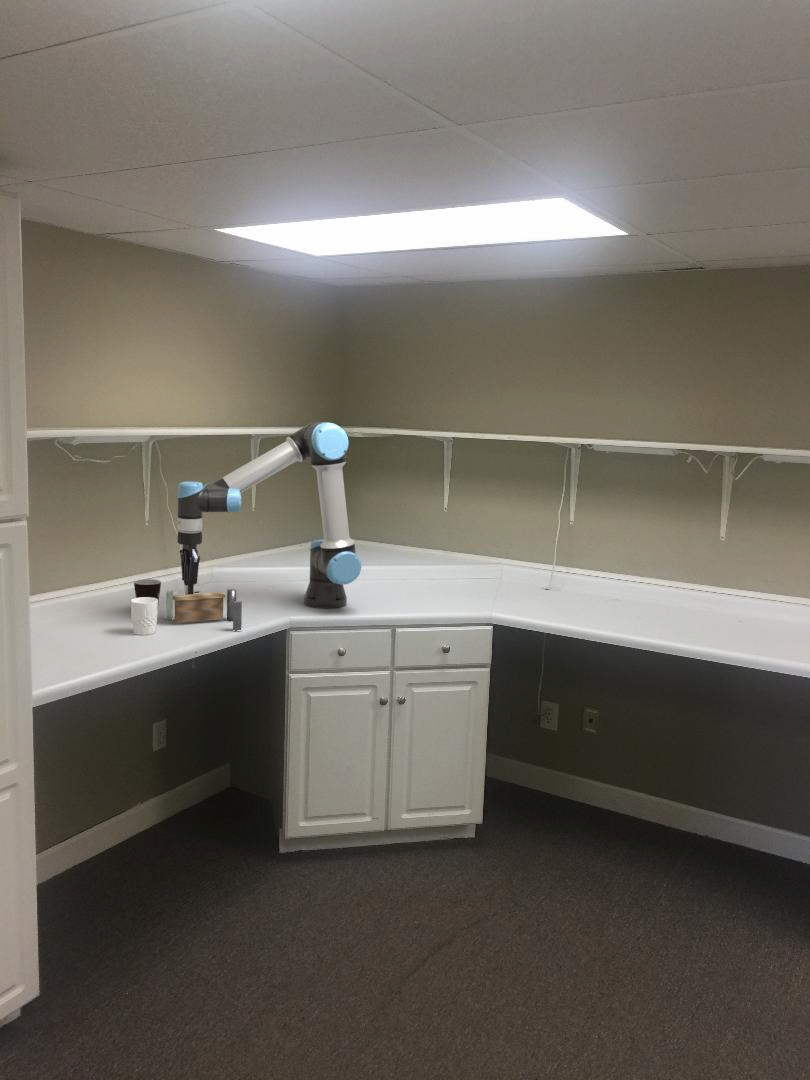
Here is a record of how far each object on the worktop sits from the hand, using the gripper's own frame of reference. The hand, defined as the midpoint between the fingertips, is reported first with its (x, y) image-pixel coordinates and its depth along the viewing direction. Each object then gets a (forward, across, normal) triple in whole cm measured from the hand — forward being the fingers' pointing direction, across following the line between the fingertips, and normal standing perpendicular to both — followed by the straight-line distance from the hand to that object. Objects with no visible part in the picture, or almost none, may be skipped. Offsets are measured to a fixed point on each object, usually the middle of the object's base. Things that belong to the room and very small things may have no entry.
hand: (189, 604), depth 275 cm
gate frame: (+6, +5, +3) cm, 8 cm away
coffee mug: (+6, -18, -8) cm, 21 cm away
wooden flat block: (+5, +3, +2) cm, 6 cm away
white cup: (+6, +8, -16) cm, 19 cm away
